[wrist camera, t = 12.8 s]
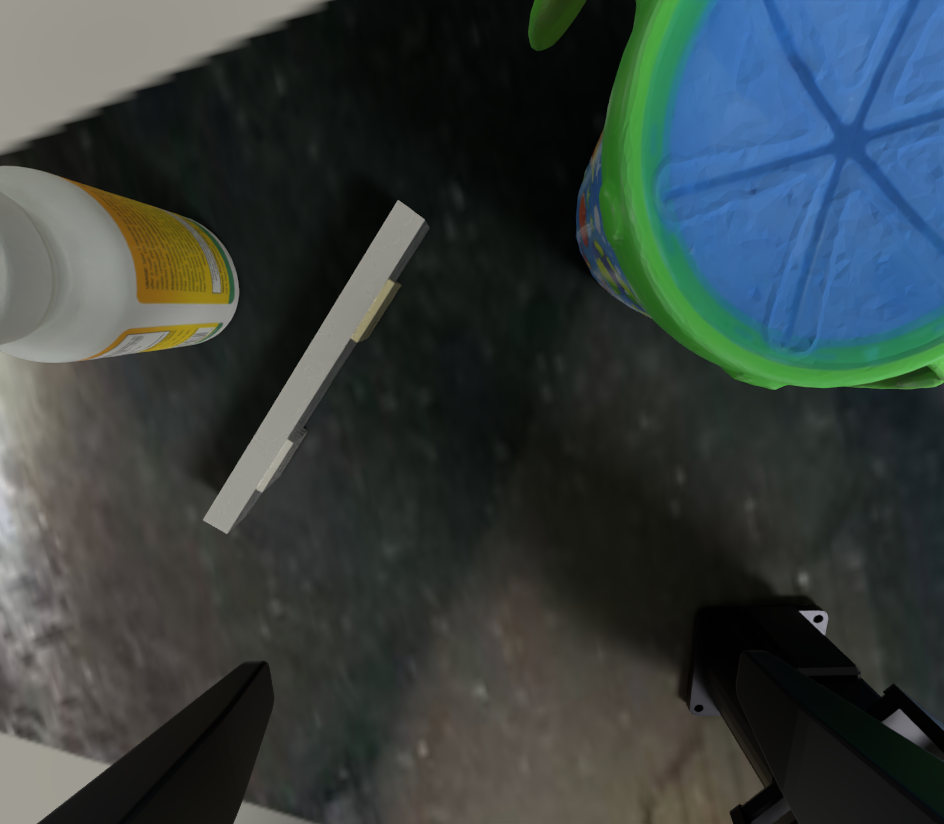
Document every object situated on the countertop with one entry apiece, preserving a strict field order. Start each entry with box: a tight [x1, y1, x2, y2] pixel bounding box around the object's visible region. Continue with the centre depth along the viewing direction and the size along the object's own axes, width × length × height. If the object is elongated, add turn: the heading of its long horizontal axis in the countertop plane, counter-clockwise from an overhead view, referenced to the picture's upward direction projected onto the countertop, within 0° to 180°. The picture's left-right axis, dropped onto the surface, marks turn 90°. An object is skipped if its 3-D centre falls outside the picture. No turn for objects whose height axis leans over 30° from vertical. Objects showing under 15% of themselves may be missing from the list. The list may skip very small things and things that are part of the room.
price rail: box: [203, 200, 430, 534], centre depth 19 cm, size 16×2×2 cm, turn 145°
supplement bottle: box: [0, 166, 239, 363], centre depth 15 cm, size 5×5×10 cm
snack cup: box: [528, 0, 944, 390], centre depth 14 cm, size 16×10×10 cm
